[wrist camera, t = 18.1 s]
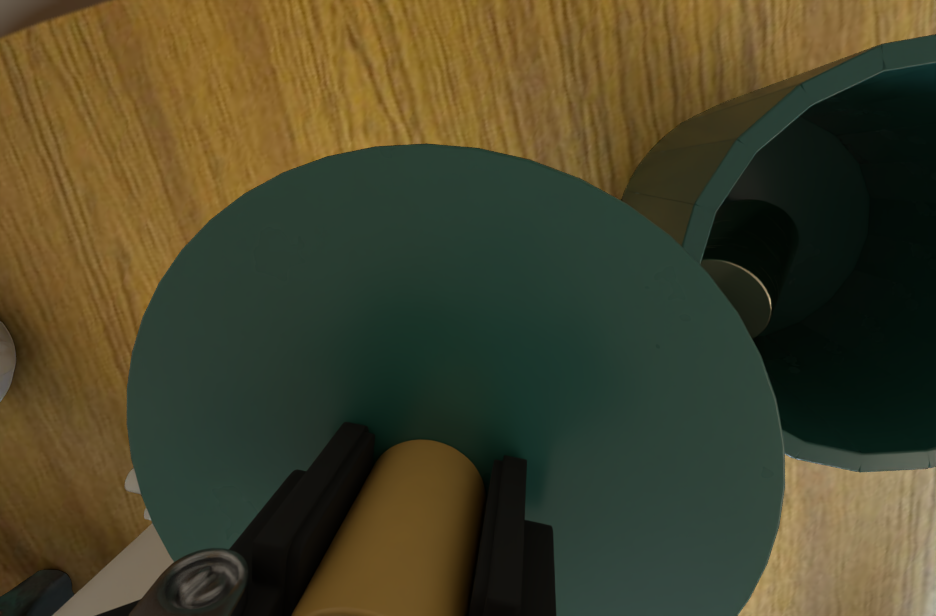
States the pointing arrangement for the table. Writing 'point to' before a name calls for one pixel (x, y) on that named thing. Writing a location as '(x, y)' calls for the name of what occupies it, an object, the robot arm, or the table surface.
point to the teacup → (6, 360)
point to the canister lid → (461, 385)
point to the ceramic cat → (38, 595)
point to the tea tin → (751, 257)
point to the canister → (830, 243)
